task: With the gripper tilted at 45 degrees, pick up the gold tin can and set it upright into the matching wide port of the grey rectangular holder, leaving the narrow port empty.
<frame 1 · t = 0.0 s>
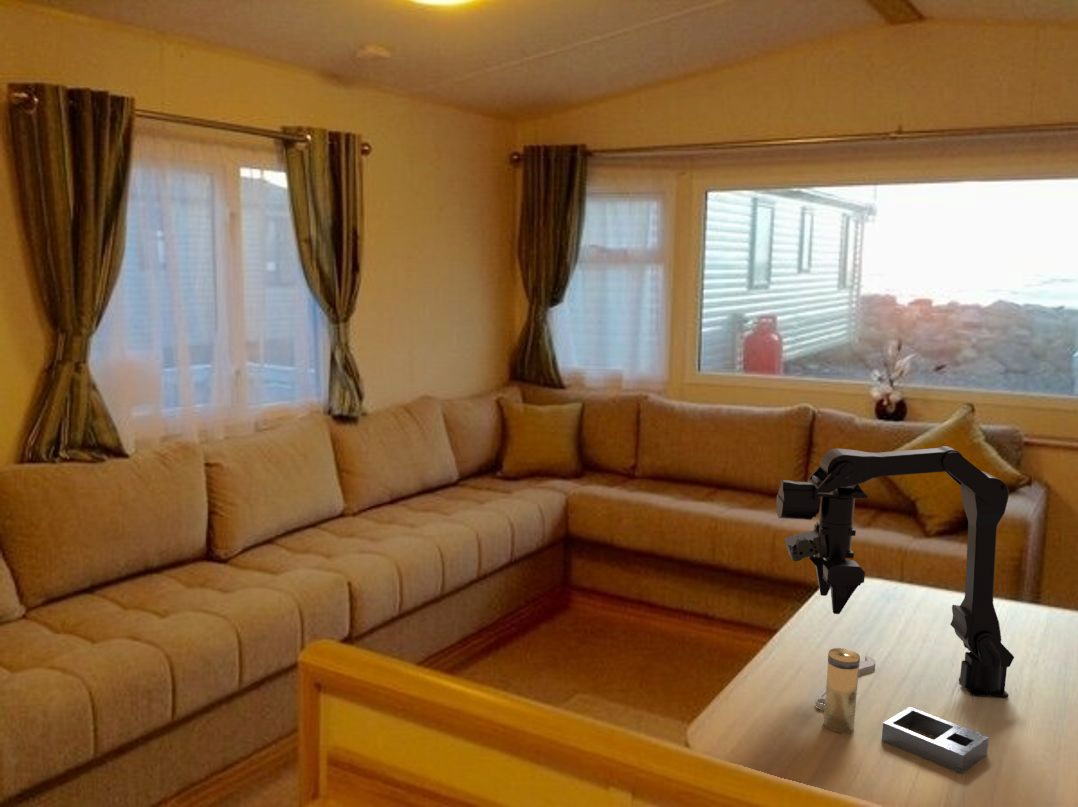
hand: (829, 604, 166), 15 cm above the table, tool pointing down, fingers open, 9 cm apart
grey rectangular holder: (921, 742, 147), on the table
adjustable wrench: (838, 685, 168), on the table
gold tin can: (838, 726, 152), on the table
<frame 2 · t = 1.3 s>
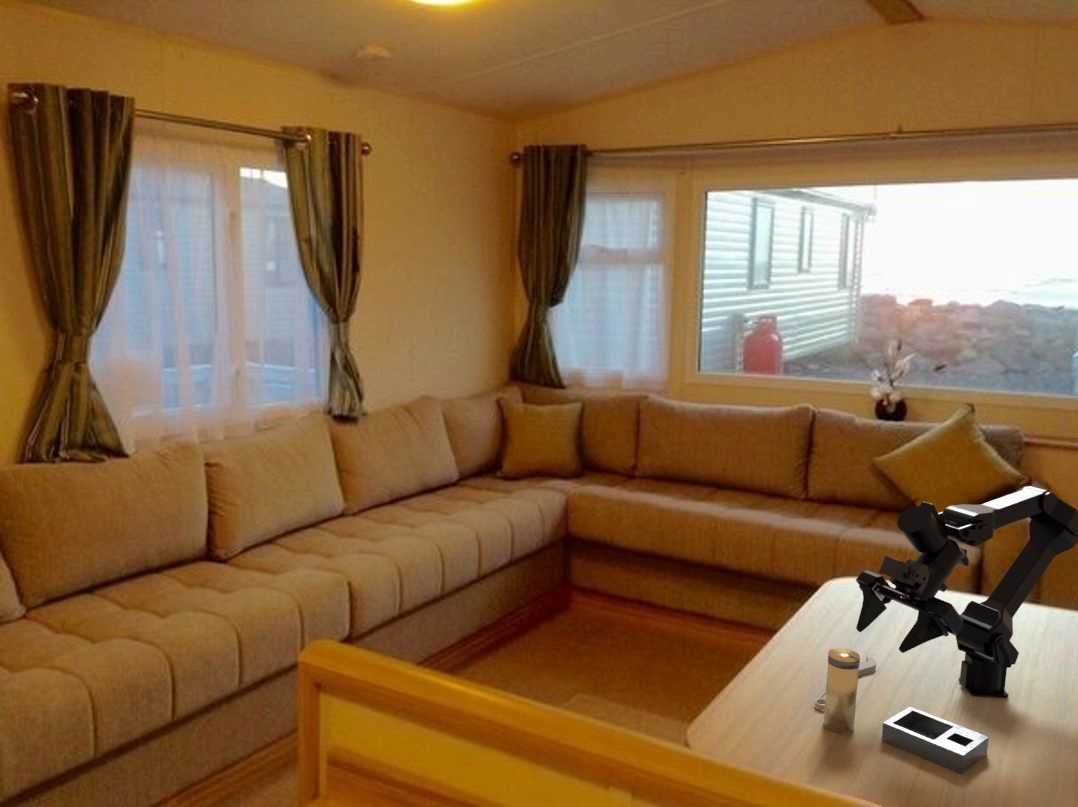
hand: (878, 640, 153), 14 cm above the table, tool tilted 45°, fingers open, 9 cm apart
nothing on the table moved.
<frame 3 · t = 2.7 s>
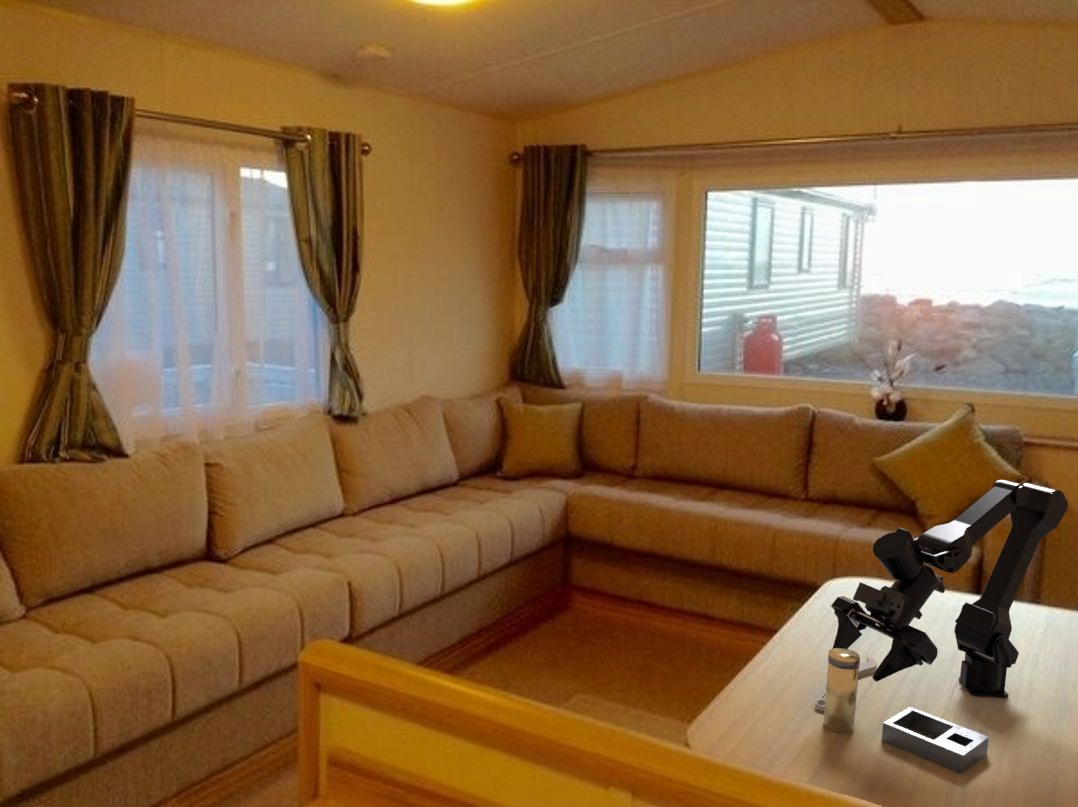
hand: (852, 668, 151), 10 cm above the table, tool tilted 45°, fingers open, 9 cm apart
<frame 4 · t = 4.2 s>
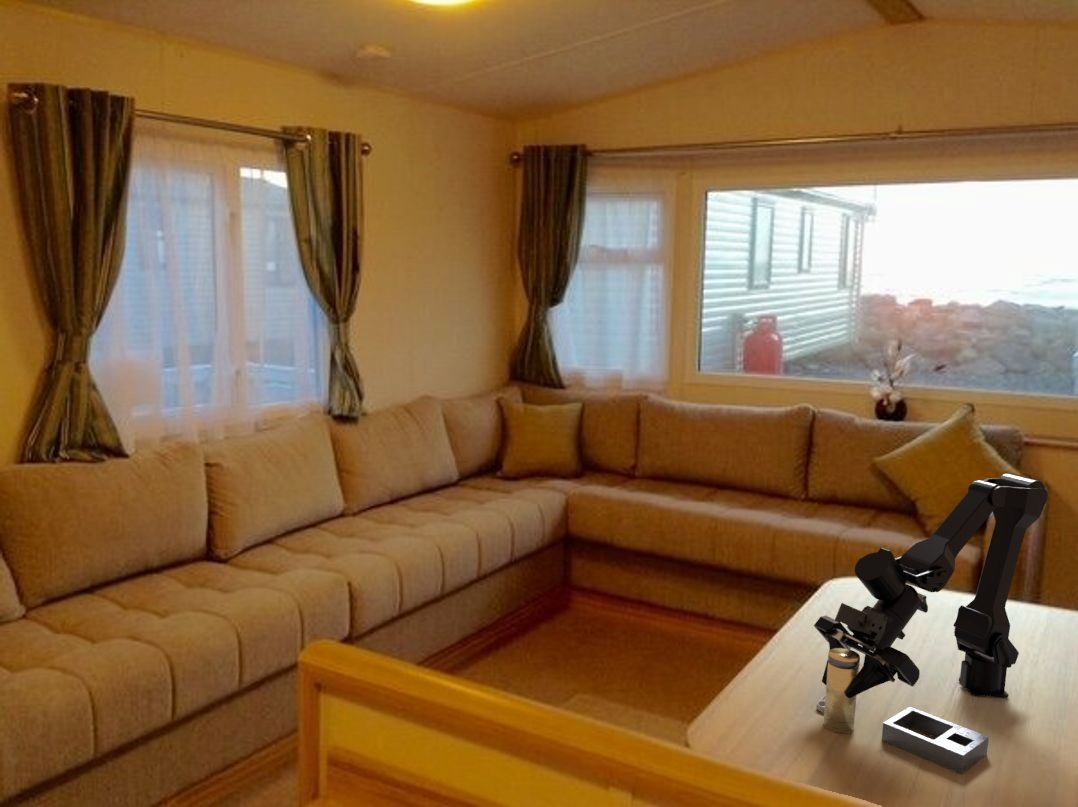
hand: (835, 689, 150), 7 cm above the table, tool tilted 45°, fingers closed on gold tin can, 5 cm apart
gold tin can: (838, 726, 152), on the table, touching gripper
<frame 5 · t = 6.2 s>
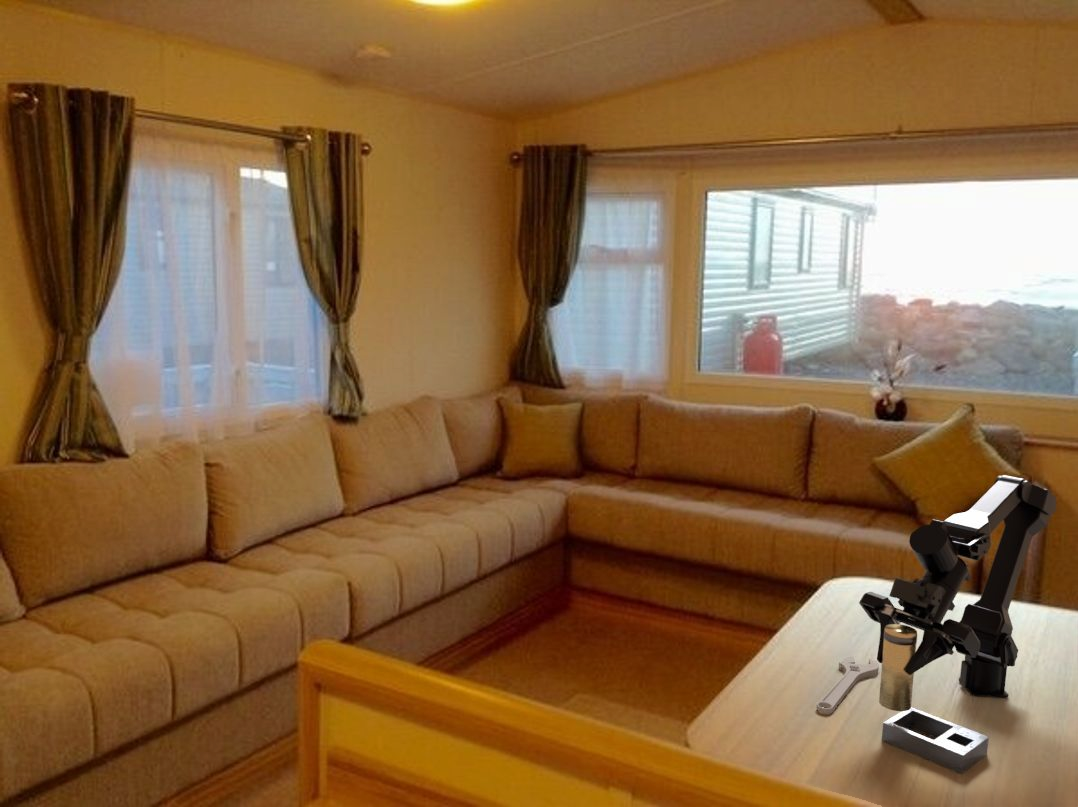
hand: (893, 667, 146), 12 cm above the table, tool tilted 45°, fingers closed on gold tin can, 5 cm apart
gold tin can: (894, 703, 148), point 6 cm above the table, touching gripper
when the fingers open (8 cm above the table, at t = 8.0 s): gold tin can drops 2 cm, resting in grey rectangular holder.
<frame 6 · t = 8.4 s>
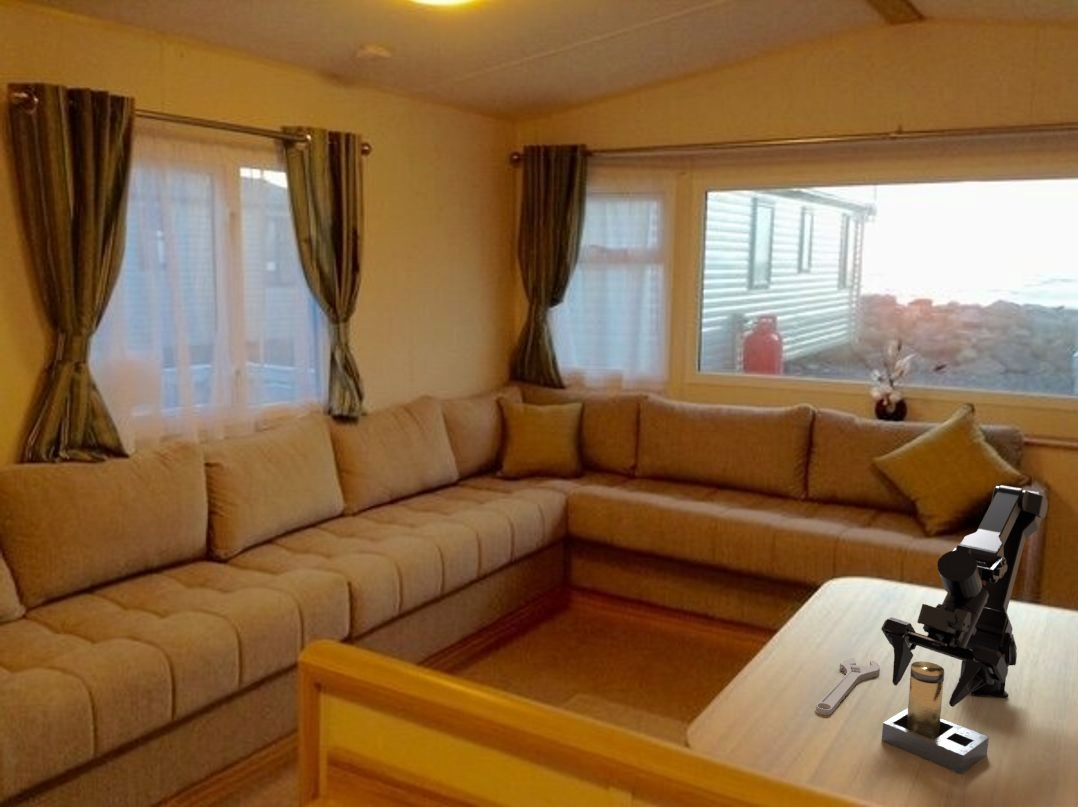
hand: (921, 694, 145), 9 cm above the table, tool tilted 45°, fingers open, 9 cm apart
gold tin can: (921, 742, 147), resting in grey rectangular holder
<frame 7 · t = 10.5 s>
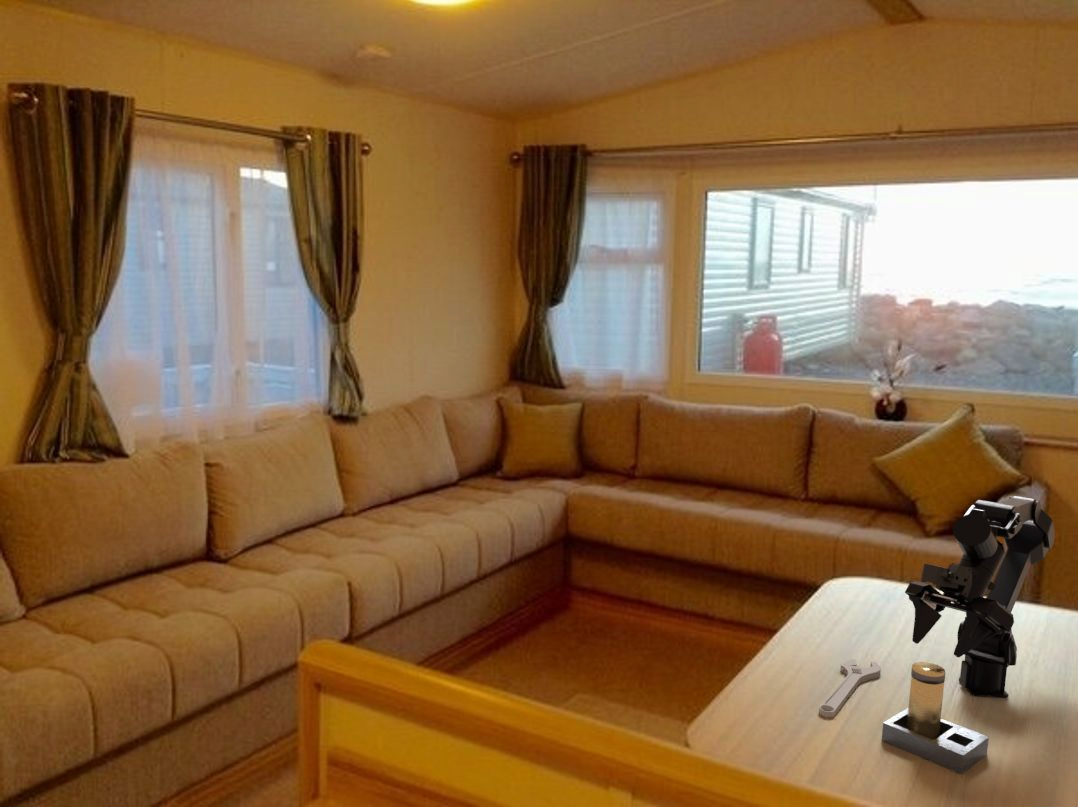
hand: (934, 649, 153), 12 cm above the table, tool tilted 35°, fingers open, 9 cm apart
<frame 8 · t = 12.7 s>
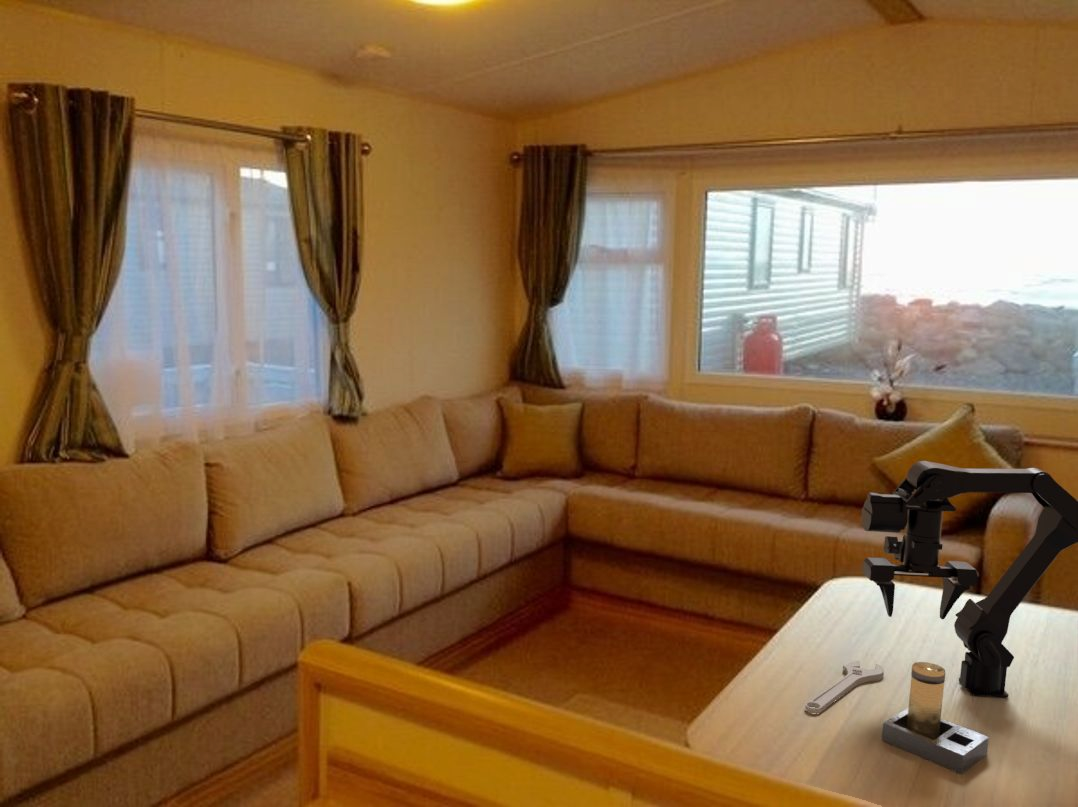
hand: (915, 617, 166), 13 cm above the table, tool pointing down, fingers open, 9 cm apart
at the end: gold tin can 0.1 cm off-centre on the grey rectangular holder, point 0.0 cm above the grey rectangular holder's base; gold tin can tilted 0°; the gripper is holding nothing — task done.
